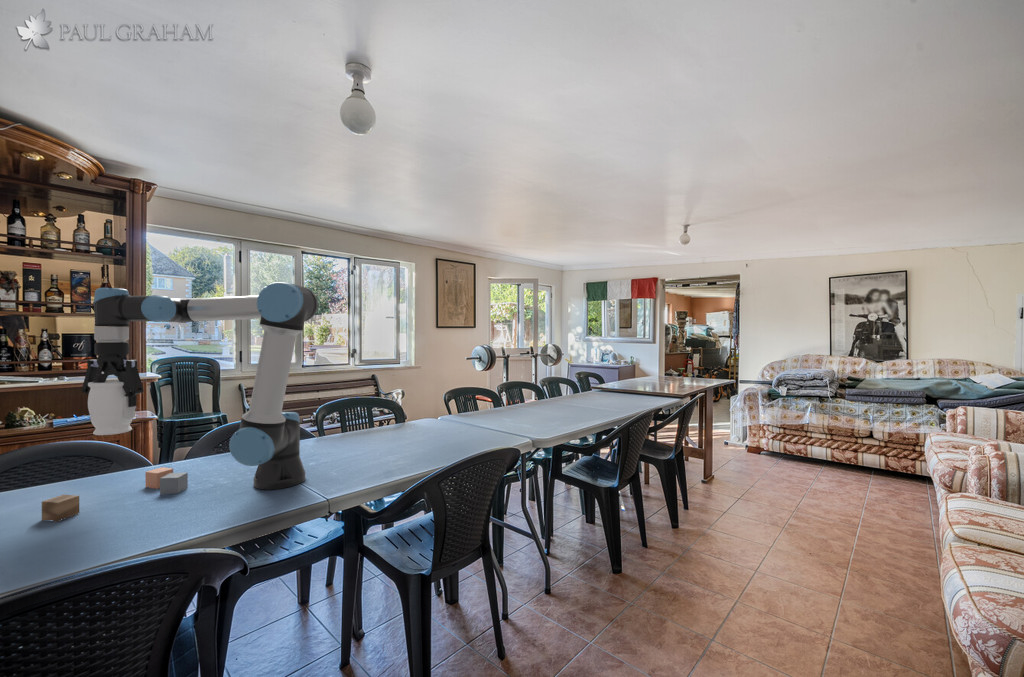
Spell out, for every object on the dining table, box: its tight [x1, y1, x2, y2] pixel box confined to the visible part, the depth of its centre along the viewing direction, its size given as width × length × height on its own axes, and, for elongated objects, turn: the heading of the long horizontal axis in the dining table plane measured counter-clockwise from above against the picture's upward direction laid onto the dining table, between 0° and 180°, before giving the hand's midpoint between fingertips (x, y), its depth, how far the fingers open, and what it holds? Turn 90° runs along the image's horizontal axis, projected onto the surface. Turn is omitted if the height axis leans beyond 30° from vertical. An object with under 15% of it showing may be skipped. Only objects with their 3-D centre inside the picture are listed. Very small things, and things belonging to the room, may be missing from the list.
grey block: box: [159, 472, 189, 495], centre depth 137 cm, size 5×5×5 cm
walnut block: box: [41, 494, 80, 522], centre depth 118 cm, size 5×5×5 cm
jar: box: [87, 379, 137, 436], centre depth 129 cm, size 11×10×15 cm
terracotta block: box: [145, 466, 174, 490], centre depth 142 cm, size 5×5×5 cm
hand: (112, 417), depth 129 cm, fingers closed on jar, 10 cm apart
